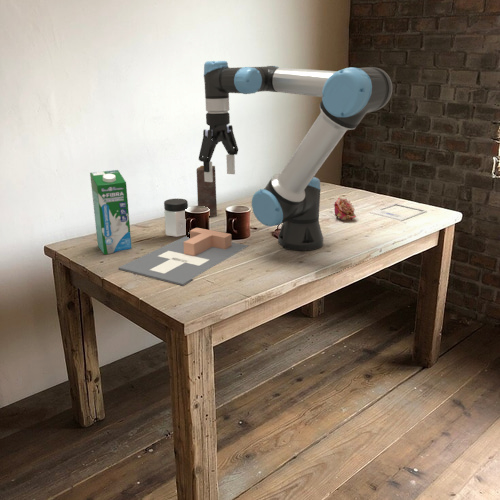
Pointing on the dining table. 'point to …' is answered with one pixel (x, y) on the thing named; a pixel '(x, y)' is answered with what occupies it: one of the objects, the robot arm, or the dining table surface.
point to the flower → (344, 209)
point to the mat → (179, 262)
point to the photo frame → (393, 215)
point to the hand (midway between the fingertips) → (220, 177)
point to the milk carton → (111, 211)
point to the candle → (207, 191)
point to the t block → (206, 241)
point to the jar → (175, 217)
